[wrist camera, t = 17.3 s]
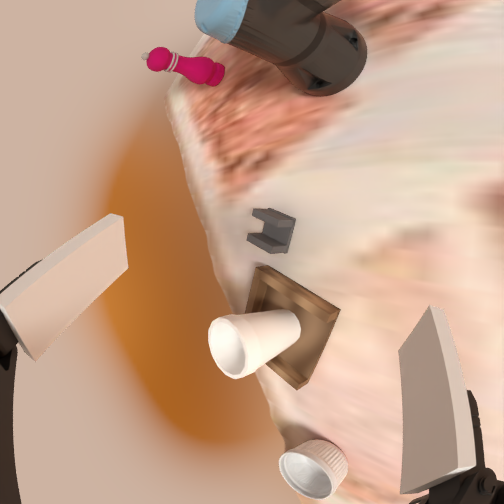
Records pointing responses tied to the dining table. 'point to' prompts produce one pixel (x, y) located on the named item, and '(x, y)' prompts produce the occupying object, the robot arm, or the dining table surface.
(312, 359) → the end holder
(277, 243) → the clip
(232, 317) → the foam cup
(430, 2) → the dining table surface
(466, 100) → the dining table surface
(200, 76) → the pepper mill
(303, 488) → the ramekin
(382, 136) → the dining table surface
